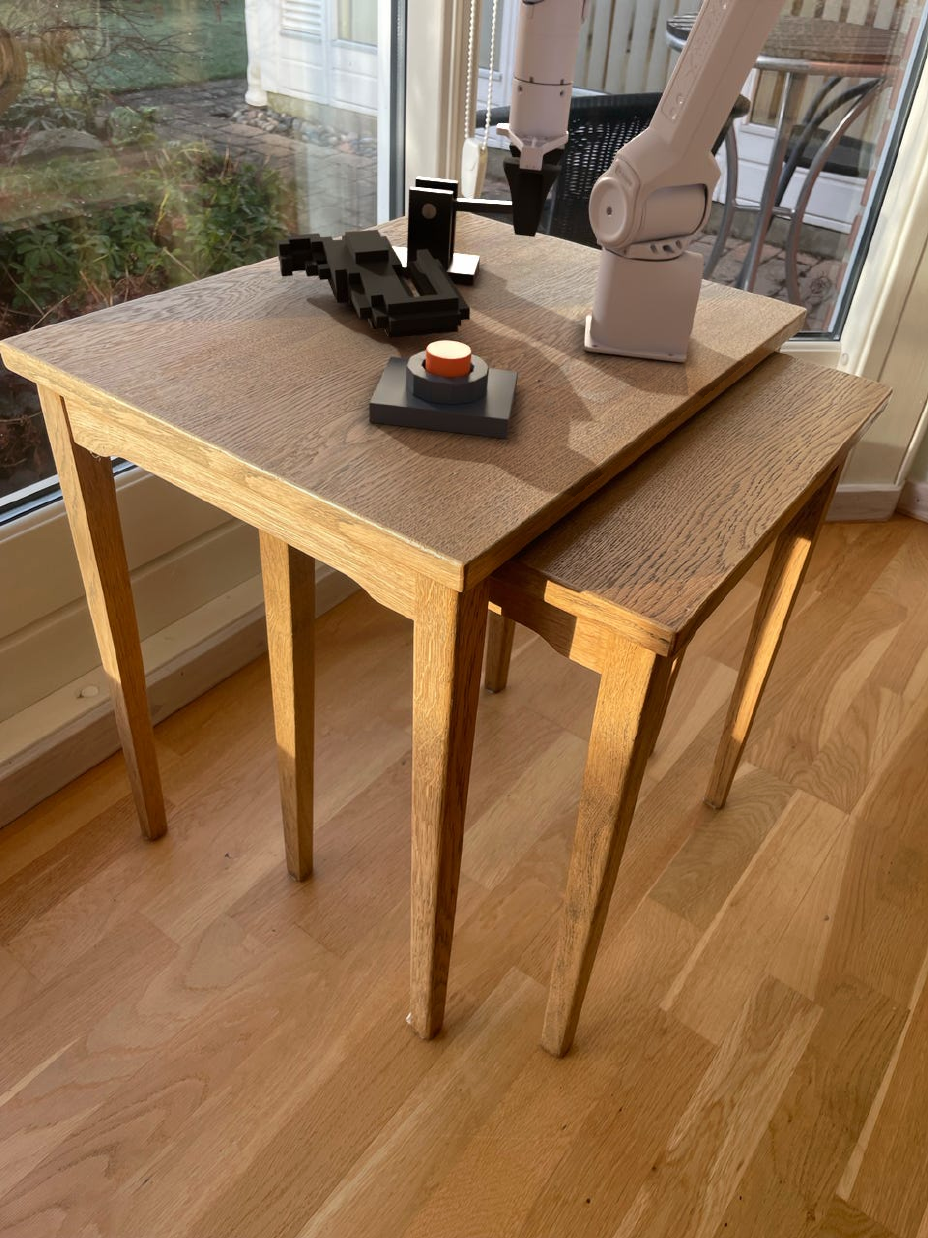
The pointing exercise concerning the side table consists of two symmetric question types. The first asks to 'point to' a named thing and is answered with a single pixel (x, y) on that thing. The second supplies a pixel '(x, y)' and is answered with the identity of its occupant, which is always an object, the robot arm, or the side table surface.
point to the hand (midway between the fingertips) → (526, 226)
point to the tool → (379, 282)
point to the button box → (445, 398)
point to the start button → (448, 359)
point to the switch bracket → (436, 229)
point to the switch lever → (481, 205)
